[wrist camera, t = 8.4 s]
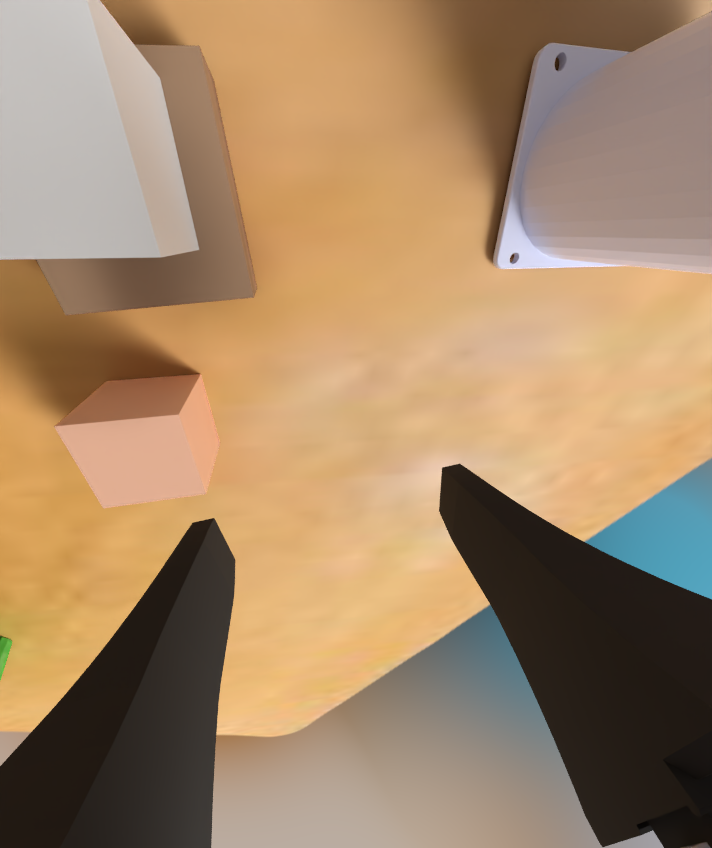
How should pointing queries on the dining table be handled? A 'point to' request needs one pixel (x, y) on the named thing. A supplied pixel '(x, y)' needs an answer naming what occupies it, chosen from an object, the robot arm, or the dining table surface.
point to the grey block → (84, 140)
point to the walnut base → (208, 200)
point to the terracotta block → (144, 439)
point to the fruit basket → (4, 652)
